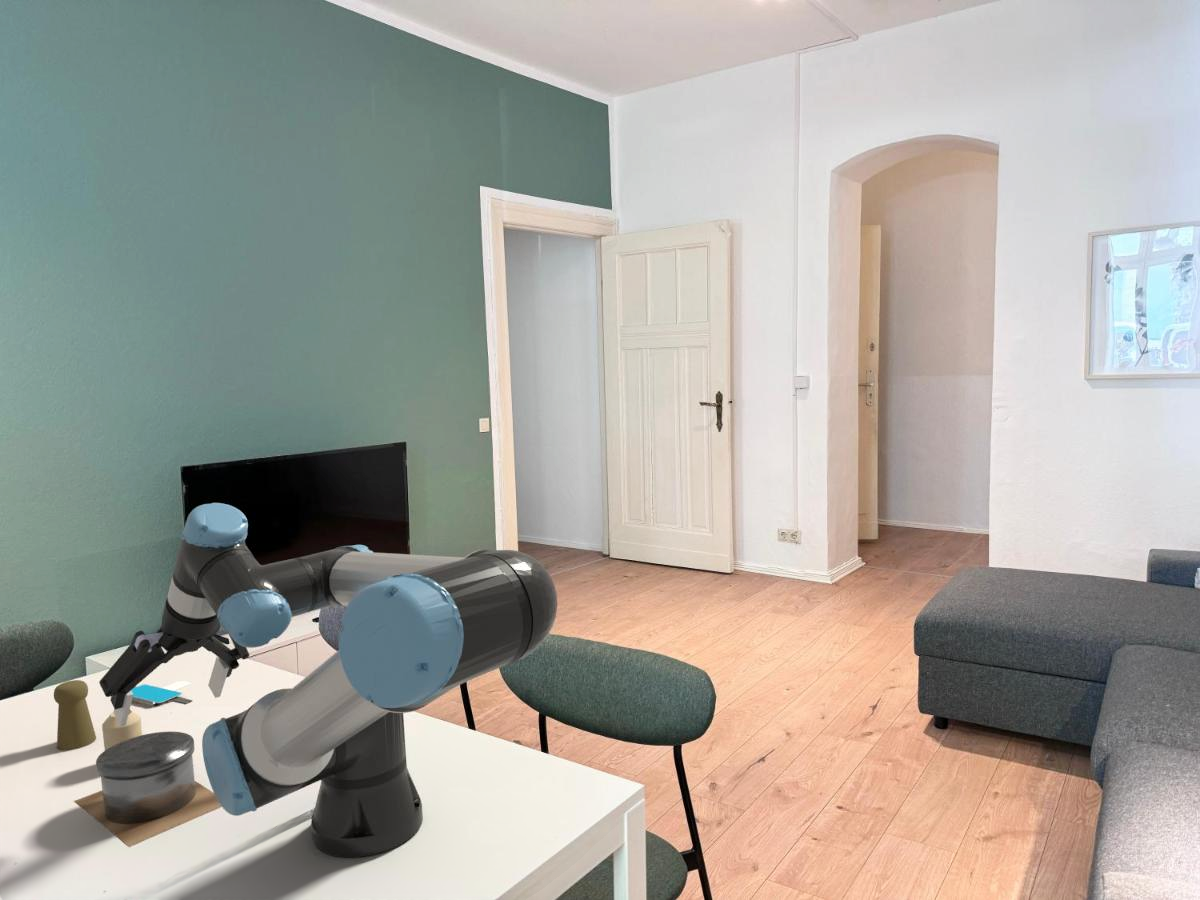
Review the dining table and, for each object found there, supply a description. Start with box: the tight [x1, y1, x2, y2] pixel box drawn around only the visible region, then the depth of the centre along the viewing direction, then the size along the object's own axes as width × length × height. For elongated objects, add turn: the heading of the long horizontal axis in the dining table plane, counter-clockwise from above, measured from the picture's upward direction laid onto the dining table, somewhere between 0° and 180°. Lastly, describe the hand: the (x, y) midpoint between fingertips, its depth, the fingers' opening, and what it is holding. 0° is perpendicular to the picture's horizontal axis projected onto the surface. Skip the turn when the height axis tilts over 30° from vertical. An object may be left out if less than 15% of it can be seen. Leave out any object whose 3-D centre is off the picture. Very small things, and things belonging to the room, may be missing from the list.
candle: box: [101, 709, 143, 751], centre depth 141 cm, size 6×6×10 cm
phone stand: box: [131, 680, 193, 708], centre depth 174 cm, size 20×12×2 cm, turn 62°
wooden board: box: [73, 780, 223, 848], centre depth 128 cm, size 20×14×2 cm
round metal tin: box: [95, 731, 196, 824], centre depth 128 cm, size 13×13×8 cm
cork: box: [53, 679, 97, 751], centre depth 152 cm, size 6×6×11 cm
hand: (168, 704), depth 128 cm, fingers open, 13 cm apart
